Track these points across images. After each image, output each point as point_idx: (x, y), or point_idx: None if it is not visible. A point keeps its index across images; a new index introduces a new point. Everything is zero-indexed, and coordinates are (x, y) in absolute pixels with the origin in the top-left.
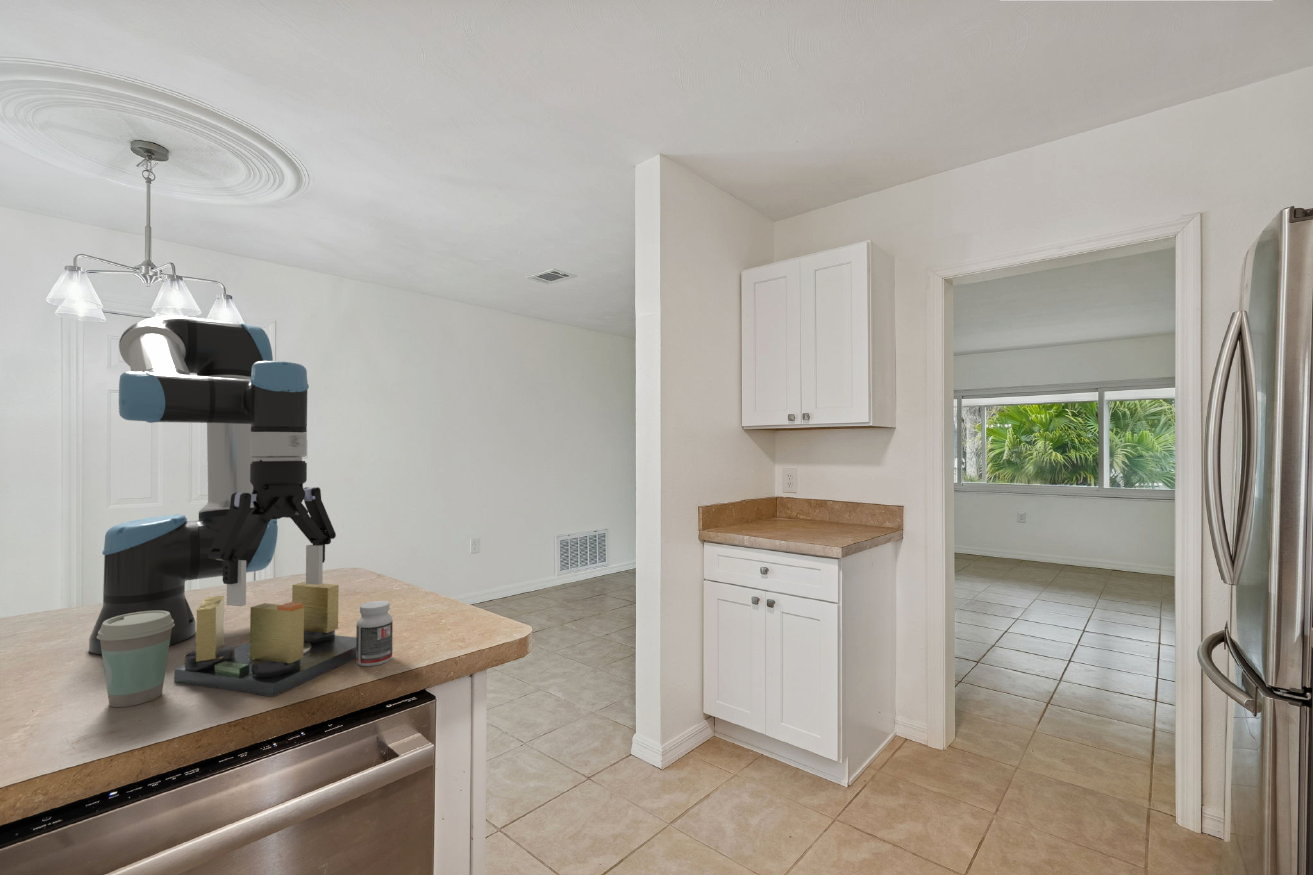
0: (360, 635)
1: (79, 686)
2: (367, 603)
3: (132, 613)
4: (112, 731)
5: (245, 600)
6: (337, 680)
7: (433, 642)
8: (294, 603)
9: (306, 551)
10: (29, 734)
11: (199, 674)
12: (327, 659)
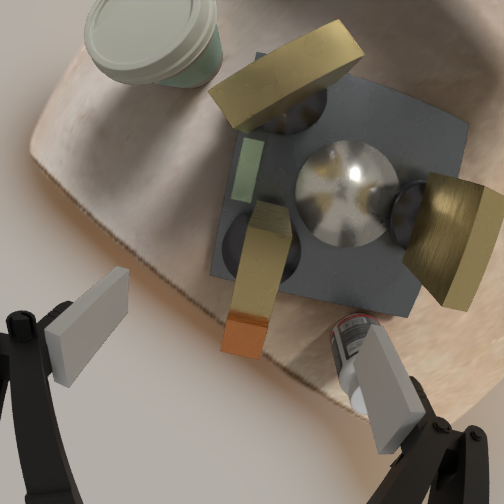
0: (341, 355)
1: None
2: None
3: None
4: (102, 131)
5: (121, 318)
6: (279, 321)
7: (418, 371)
8: (256, 342)
9: (401, 396)
10: None
11: None
12: (315, 298)
